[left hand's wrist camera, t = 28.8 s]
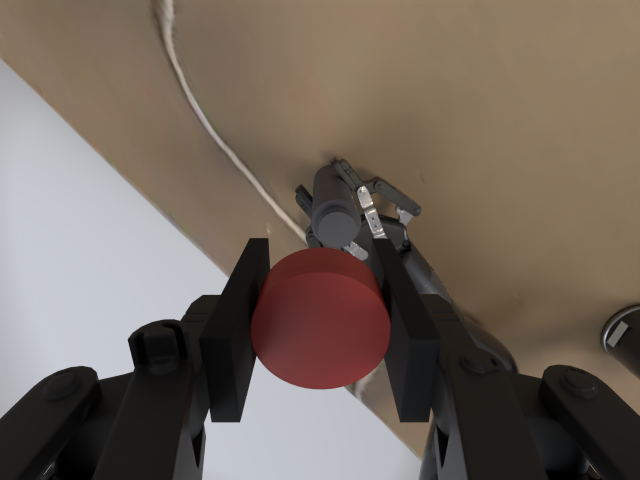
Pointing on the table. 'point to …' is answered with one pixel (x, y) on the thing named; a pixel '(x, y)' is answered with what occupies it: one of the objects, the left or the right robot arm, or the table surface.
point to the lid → (320, 319)
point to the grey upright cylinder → (333, 210)
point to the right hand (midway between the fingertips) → (315, 174)
